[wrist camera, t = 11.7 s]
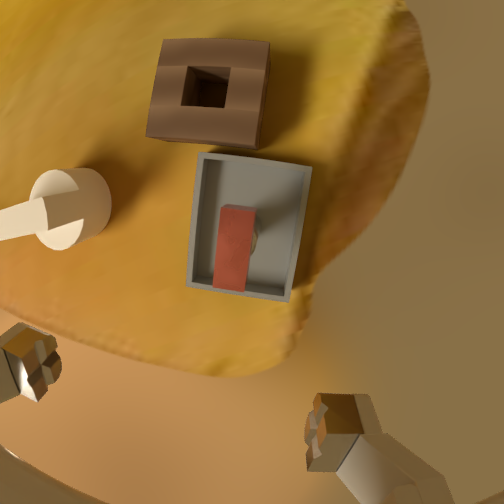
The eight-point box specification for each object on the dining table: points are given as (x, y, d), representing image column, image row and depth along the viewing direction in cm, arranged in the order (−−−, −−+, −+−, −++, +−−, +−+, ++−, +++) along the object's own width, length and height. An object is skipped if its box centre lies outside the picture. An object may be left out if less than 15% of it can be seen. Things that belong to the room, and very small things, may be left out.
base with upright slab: (106, 160, 31) (40, 162, 20) (117, 233, 34) (57, 263, 22) (54, 175, 32) (-12, 185, 21) (64, 241, 35) (3, 269, 23)
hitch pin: (236, 194, 31) (216, 206, 21) (264, 198, 31) (259, 212, 21) (229, 250, 32) (208, 286, 22) (256, 254, 32) (248, 293, 22)
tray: (205, 153, 31) (198, 151, 28) (308, 167, 30) (312, 167, 27) (192, 276, 34) (185, 286, 32) (287, 291, 34) (288, 302, 31)
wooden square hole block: (181, 58, 28) (163, 39, 22) (270, 63, 27) (269, 42, 22) (167, 141, 30) (145, 136, 25) (257, 149, 30) (254, 145, 24)
